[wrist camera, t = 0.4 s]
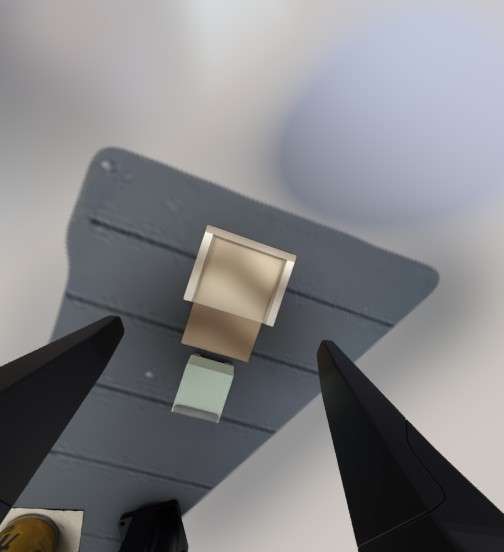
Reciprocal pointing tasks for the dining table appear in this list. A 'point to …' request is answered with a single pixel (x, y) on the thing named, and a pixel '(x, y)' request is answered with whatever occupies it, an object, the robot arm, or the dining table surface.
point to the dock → (234, 292)
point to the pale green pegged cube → (204, 388)
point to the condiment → (40, 531)
